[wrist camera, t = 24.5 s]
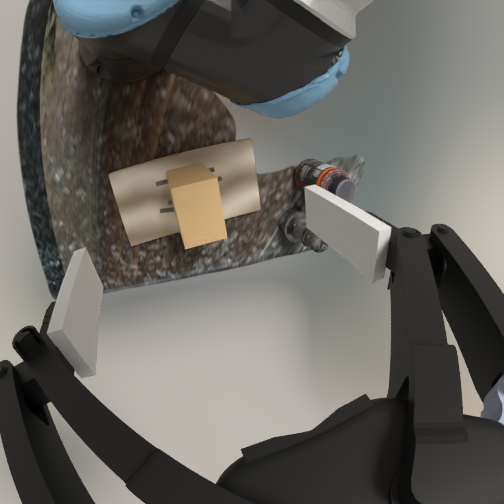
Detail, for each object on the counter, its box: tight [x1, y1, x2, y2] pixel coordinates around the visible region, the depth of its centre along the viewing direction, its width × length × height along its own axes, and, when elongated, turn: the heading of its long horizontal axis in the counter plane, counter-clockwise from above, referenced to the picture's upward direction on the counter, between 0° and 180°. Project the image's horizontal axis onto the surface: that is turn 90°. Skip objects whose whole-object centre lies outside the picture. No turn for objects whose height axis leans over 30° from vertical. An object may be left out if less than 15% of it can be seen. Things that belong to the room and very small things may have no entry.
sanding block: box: [166, 163, 227, 249], centre depth 38 cm, size 8×6×10 cm
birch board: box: [109, 139, 261, 246], centre depth 42 cm, size 12×22×1 cm, turn 97°
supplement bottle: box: [295, 159, 357, 203], centre depth 44 cm, size 6×6×11 cm
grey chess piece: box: [278, 206, 328, 253], centre depth 47 cm, size 6×6×12 cm
